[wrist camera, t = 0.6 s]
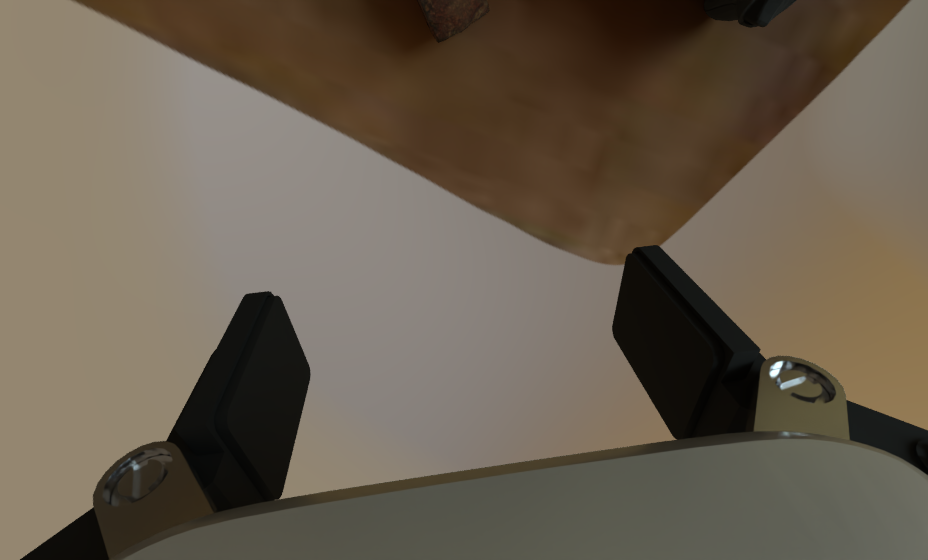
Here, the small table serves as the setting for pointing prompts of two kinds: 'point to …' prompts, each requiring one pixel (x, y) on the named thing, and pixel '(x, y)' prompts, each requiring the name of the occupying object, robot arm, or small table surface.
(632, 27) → the small table surface
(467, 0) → the brick
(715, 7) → the gaming controller
